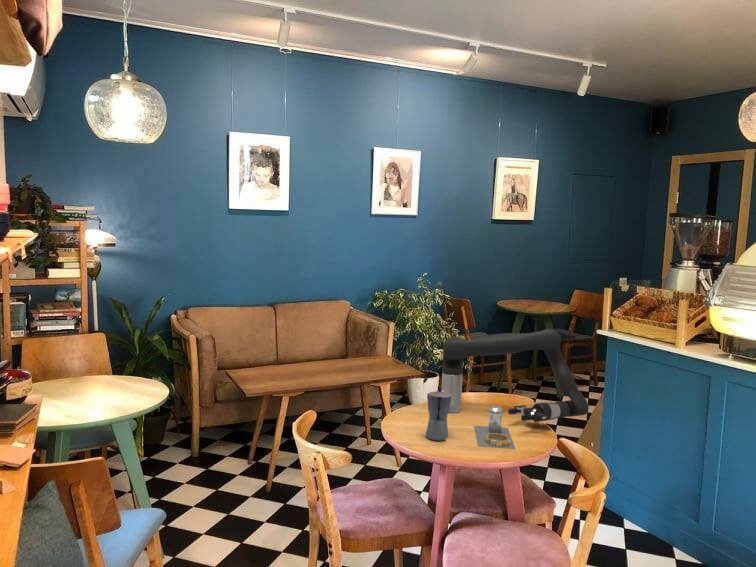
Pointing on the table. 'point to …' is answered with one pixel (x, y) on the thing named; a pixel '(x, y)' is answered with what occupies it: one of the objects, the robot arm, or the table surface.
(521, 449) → the table surface
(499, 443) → the ring collar
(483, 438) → the mat
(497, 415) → the silver metal cylinder
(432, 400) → the moka pot
